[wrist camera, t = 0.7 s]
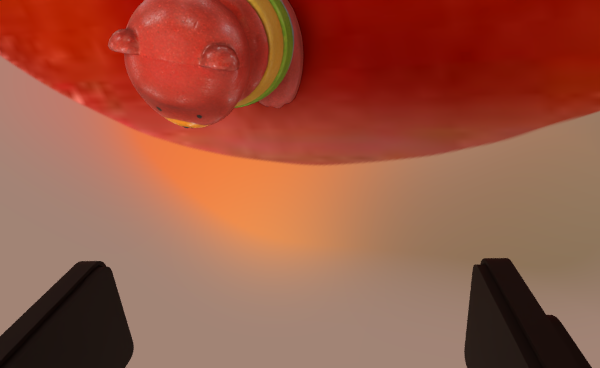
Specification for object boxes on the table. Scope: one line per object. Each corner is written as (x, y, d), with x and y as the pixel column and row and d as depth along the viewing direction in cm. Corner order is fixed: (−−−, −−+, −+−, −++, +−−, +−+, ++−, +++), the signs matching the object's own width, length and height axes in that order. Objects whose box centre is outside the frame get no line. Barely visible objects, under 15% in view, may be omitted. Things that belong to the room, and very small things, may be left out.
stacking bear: (179, 79, 38) (56, 133, 22) (196, -42, 34) (60, -85, 18) (292, 112, 38) (253, 190, 22) (323, -5, 34) (303, -14, 18)
